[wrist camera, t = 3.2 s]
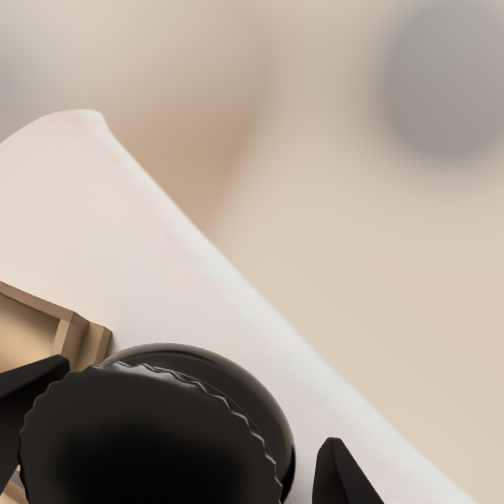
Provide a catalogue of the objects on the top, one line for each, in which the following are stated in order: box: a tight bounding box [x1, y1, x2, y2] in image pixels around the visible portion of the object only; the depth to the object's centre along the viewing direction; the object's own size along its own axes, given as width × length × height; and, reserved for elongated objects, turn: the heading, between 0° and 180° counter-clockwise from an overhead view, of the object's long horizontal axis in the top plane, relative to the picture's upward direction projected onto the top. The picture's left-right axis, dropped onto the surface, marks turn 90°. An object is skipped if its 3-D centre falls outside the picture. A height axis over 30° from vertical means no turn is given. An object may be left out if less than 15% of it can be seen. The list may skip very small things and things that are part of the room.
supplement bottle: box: [17, 343, 296, 504], centre depth 9 cm, size 7×7×12 cm
